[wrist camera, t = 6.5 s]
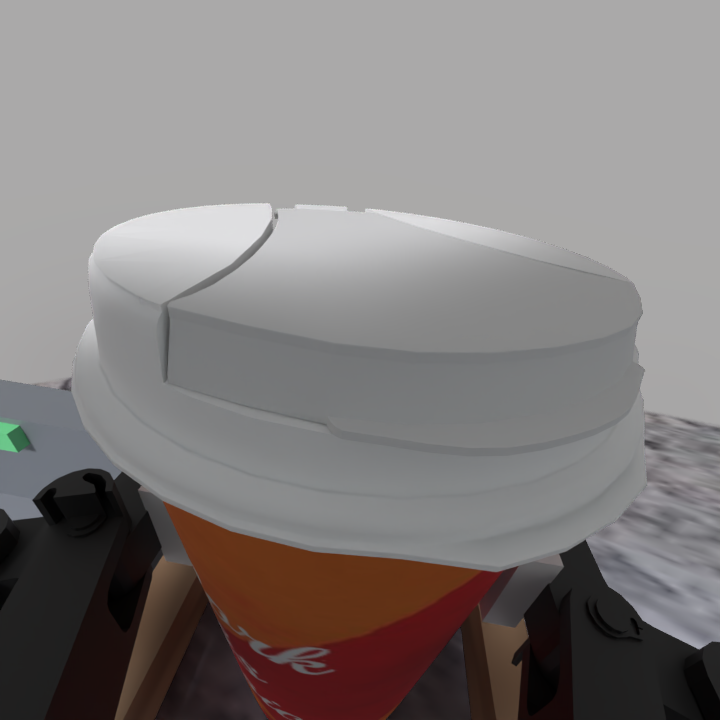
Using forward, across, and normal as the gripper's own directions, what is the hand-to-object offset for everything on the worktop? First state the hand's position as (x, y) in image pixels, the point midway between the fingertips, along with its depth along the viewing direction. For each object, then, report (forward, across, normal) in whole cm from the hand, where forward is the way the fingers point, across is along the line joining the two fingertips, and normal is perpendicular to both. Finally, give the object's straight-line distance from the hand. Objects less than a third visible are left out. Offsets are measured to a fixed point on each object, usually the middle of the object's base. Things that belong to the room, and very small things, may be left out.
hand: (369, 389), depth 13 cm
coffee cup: (-5, 0, -9) cm, 10 cm away
